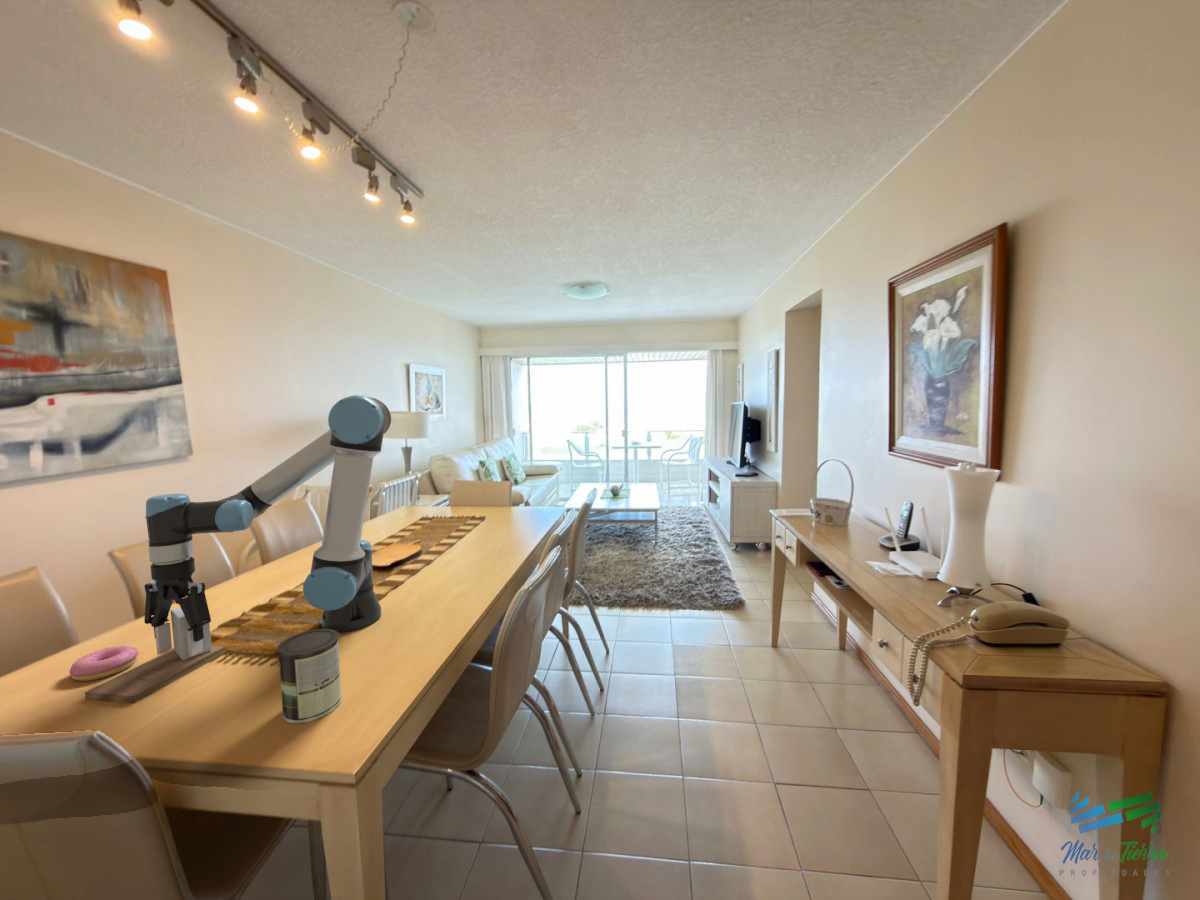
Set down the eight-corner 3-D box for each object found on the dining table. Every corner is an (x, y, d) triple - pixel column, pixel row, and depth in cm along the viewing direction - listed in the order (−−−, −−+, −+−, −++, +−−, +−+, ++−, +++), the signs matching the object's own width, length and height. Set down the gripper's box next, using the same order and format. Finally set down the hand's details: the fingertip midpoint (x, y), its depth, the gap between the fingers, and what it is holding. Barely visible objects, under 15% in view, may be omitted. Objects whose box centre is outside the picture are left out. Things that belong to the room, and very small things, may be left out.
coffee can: (270, 726, 86) (265, 655, 85) (301, 692, 96) (297, 629, 95) (326, 722, 87) (322, 652, 86) (351, 690, 97) (347, 627, 96)
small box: (212, 651, 111) (208, 609, 110) (181, 661, 106) (178, 618, 105) (203, 641, 115) (200, 601, 115) (173, 650, 111) (170, 609, 110)
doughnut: (109, 657, 111) (108, 641, 111) (152, 658, 111) (151, 641, 111) (54, 684, 100) (52, 666, 100) (102, 684, 100) (100, 666, 100)
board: (225, 652, 113) (225, 646, 113) (134, 703, 93) (134, 696, 93) (183, 649, 114) (183, 643, 114) (85, 699, 95) (84, 692, 95)
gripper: (226, 556, 109) (233, 646, 110) (152, 553, 111) (160, 641, 113) (195, 566, 101) (202, 663, 103) (116, 563, 104) (125, 658, 106)
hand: (180, 652), depth 108 cm, fingers open, 8 cm apart
